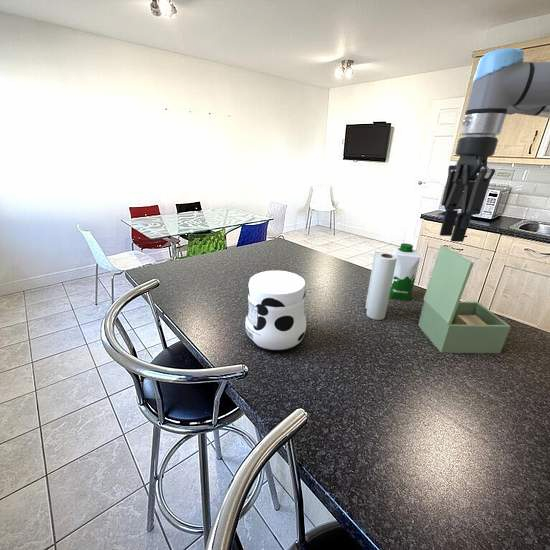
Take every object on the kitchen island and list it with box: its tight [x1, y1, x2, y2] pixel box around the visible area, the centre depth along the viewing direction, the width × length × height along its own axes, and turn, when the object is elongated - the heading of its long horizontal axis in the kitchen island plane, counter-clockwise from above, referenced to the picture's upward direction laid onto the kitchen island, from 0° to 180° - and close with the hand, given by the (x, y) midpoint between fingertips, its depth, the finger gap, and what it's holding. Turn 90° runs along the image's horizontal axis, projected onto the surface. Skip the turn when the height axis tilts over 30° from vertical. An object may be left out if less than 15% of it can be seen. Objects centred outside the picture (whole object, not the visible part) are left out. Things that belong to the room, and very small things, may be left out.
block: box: [455, 315, 487, 325], centre depth 85 cm, size 6×6×6 cm
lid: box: [423, 244, 475, 324], centre depth 79 cm, size 17×14×1 cm
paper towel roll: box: [364, 250, 397, 321], centre depth 94 cm, size 7×6×21 cm
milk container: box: [244, 270, 307, 352], centre depth 81 cm, size 17×17×18 cm
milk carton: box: [389, 242, 421, 301], centre depth 106 cm, size 9×9×20 cm
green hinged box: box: [417, 300, 512, 354], centre depth 85 cm, size 17×14×9 cm
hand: (450, 238), depth 74 cm, fingers open, 4 cm apart
